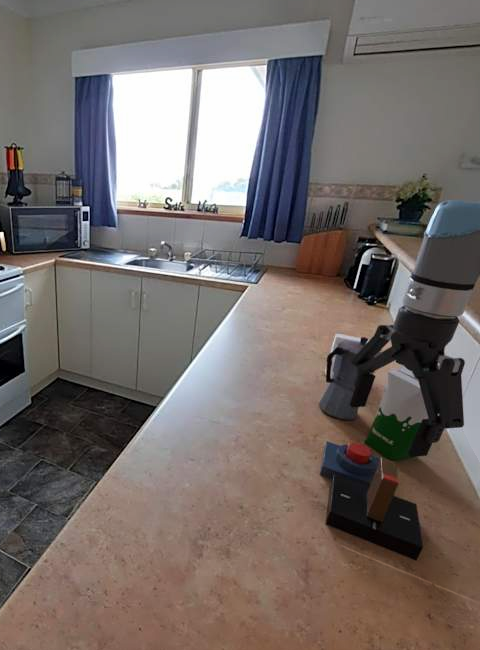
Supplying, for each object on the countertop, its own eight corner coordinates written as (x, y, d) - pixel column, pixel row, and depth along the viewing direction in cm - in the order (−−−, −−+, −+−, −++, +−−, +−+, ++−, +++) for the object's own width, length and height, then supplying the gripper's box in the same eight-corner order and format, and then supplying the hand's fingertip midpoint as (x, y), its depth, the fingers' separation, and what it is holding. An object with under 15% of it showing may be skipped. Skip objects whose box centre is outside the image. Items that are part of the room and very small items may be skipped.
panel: (410, 516, 69) (416, 502, 68) (416, 561, 61) (423, 547, 60) (329, 486, 75) (334, 473, 74) (325, 524, 67) (330, 511, 65)
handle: (366, 493, 70) (381, 456, 66) (381, 498, 69) (396, 460, 65) (366, 516, 65) (382, 477, 61) (382, 522, 64) (399, 483, 60)
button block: (382, 468, 80) (388, 453, 79) (383, 497, 73) (390, 481, 71) (323, 449, 85) (328, 434, 83) (319, 474, 78) (324, 458, 76)
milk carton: (423, 458, 84) (460, 375, 76) (393, 467, 81) (428, 382, 73) (385, 433, 91) (416, 355, 83) (356, 440, 88) (385, 361, 80)
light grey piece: (357, 372, 119) (369, 336, 114) (359, 386, 111) (372, 347, 106) (324, 365, 122) (335, 329, 117) (324, 378, 114) (335, 340, 109)
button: (368, 455, 78) (371, 447, 77) (368, 467, 75) (371, 458, 74) (345, 448, 80) (348, 439, 79) (345, 459, 77) (347, 451, 76)
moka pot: (375, 416, 98) (402, 342, 89) (328, 428, 92) (353, 350, 84) (343, 396, 106) (365, 327, 97) (298, 406, 100) (318, 333, 92)
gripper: (350, 286, 69) (320, 390, 78) (492, 347, 47) (427, 483, 56) (388, 286, 71) (354, 389, 79) (542, 345, 48) (471, 479, 57)
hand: (384, 428), depth 68 cm, fingers open, 13 cm apart
